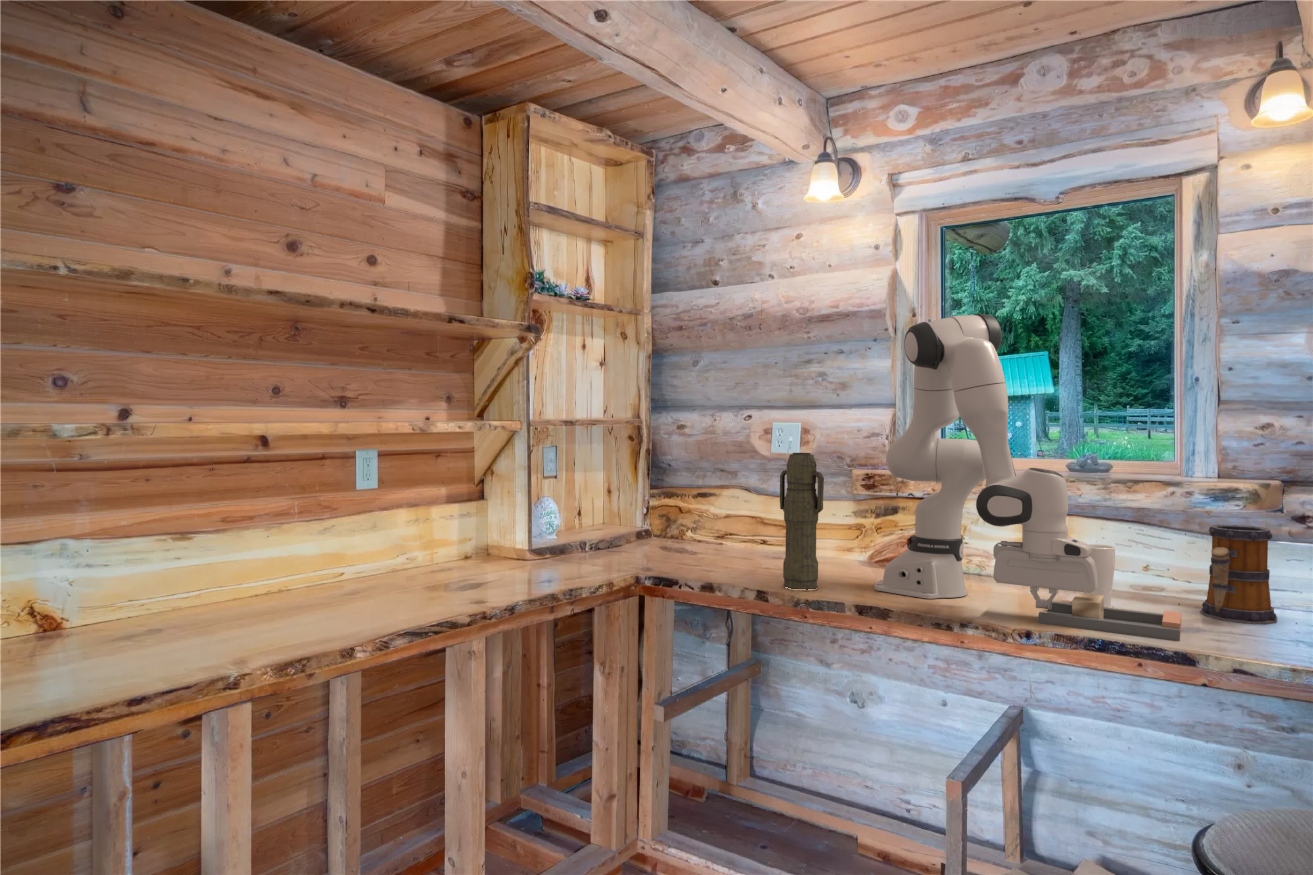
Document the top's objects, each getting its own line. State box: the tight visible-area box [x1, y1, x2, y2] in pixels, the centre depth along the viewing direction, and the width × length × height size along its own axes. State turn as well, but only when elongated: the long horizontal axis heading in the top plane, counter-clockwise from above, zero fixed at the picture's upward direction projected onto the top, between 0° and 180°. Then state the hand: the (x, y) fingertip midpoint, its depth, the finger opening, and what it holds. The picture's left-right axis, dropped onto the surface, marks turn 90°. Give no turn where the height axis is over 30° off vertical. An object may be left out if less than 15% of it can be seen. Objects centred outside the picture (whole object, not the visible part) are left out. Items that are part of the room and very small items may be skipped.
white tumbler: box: [1083, 543, 1116, 608], centre depth 191 cm, size 7×7×15 cm
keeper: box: [1071, 592, 1104, 619], centre depth 175 cm, size 5×9×5 cm, turn 147°
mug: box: [1199, 524, 1278, 626], centre depth 185 cm, size 19×14×20 cm
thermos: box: [779, 452, 825, 590], centre depth 216 cm, size 9×12×35 cm
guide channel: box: [1038, 600, 1182, 642], centre depth 173 cm, size 25×14×4 cm, turn 57°
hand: (1043, 608), depth 179 cm, fingers closed
